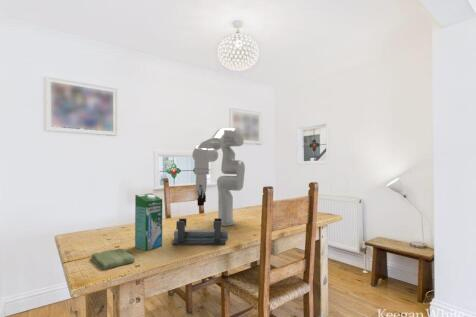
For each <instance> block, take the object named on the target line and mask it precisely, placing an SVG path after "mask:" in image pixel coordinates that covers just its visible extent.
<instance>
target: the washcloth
mask: <svg viewBox="0 0 476 317" xmlns="http://www.w3.org/2000/svg"><path fill="white" fill-rule="evenodd" d="M90 261H92V262H93V263H95V265H97V266H98V267H99V268H101V269H102V270H108V269H109V270H110V269H111V268H117V267H119V266H123V265H124V266H125V265H128V264H133V263H134V262H135V256H134V255H133V254H130V253H129V252H127V251H125V250H124V249H123V248H116V249H108V250H104V251H101V252H94V253H92V254H91V257H90Z"/></svg>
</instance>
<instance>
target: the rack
mask: <svg viewBox="0 0 476 317" xmlns="http://www.w3.org/2000/svg"><path fill="white" fill-rule="evenodd" d="M186 227H187V218H179V219H178V220H177V221H176V229H175V230H178V240H173V241H172V242H171V244H172V246H226V244H227V243H226V240H221V230H222V218H218V217H217V218H215V217H214V220H213V230H214V240H185V230H186Z"/></svg>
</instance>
